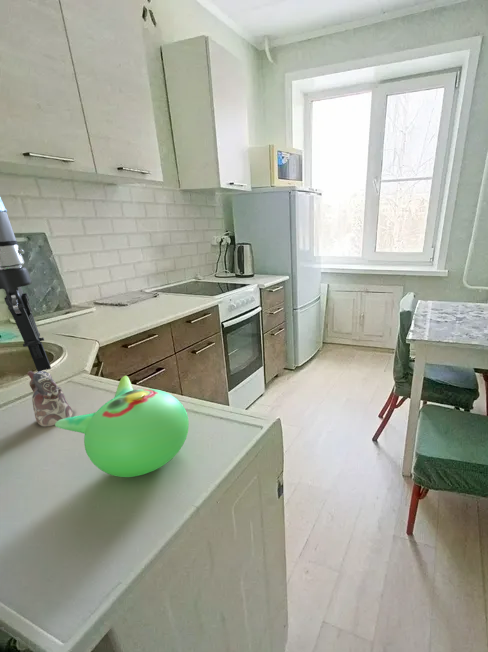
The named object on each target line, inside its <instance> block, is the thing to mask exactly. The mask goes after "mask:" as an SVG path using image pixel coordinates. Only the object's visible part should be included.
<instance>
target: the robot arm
mask: <svg viewBox="0 0 488 652" xmlns="http://www.w3.org/2000/svg"><path fill="white" fill-rule="evenodd" d="M24 254H25V250H24V249H22V248H20V246H19V243H18V240H17V238H16V235H15V233H14V230H13V227H12V223H11V221H10V217H9V215H8V209H7V208H6V207H5V204H4V202H3V200H2V197H1V196H0V290H4V291H5V297H3V299H4V302H5V304H6V305H7V310H9V312H10V314H11V316H12V318H13V320H14V322H15V325H16V327H17V329H18V332H19V333H20V336H21V338H22V340H23V343H22V346H23V348H26V347H27V348H28V351H29V353H30V357H31V359H32V362H33V364H34V366H35V368H36V372H39V371H47V370H51V368H52V367H51V364H50V361H49V358H48V356H47V353H46V351H45V348H44V344H43V341H45V338H44V337H41V333H40V332H39V329H38V326H37V323H36V320H35V317H34V314H33V309H32V306H31V304H30V298H29V295H28V293H27V292H25V293H24V291H23V288H22V287H26V286H27V287H28V286H30V285H31V284H32V282H33V281H32V278H31V275H30V273H29V270H28V268H27V267H26V266H23V265H24V264H25V260H24V256H23V255H24Z"/></svg>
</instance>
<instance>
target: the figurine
mask: <svg viewBox="0 0 488 652" xmlns="http://www.w3.org/2000/svg"><path fill="white" fill-rule="evenodd" d="M26 374H27V376H28V377H29V378H30V381H29V387H30V389H31V390H32V392H33V394H32V398H31V403H32V408H33V414H34V417H35V420H36V422H37V424H38V425H39V426H41V427H51V426H55V423H56V422H57V421H59V420H61V419H65V418H69V417H73V414H74V411H73V408H72V407H71V405H70V404H69V402H68V401H67V399H66V397H65V394H64V391H63V390H62V387H60V386H58V385H57V383H56V381H55V380H54V379H53V377H52V374H51V373H50V372H47V371H46V370H43V371H36V372H35V373H34V371H32V370H29V371H28V372H27V373H26Z"/></svg>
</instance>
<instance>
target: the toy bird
mask: <svg viewBox="0 0 488 652" xmlns="http://www.w3.org/2000/svg"><path fill="white" fill-rule="evenodd" d="M133 387H134V386H133V385H132V382H131V380H130V378H129V376H127V375H124V376H122V377H121V378H120V380H119V383H118V385H117V388H116V390H115V391H116V392H115V394H114V397H113V398H111V399H109V400H108V401H107V402H105V403H104V404H103V405H102V406H100V407H99V408H98V409H97V410H96V411H95V412H91V413H87V414H86V413H85V414H80V415H75V416H71V417H69V418H65V419H61V420H59V421H57V422H56V423H55V425H54V426H55V427H56V428H58V429H62V430H65V431H69V432H70V431H71V432H76V433H81V434H84V438H83V443H84V444H83V445H84V450H85V453H86V455H87V457H88V459H89V460H90V461H91V463H92V464H93V465H94V466H95V467H96V468H98V469H99V470H101V471H102V472H104V473H106V474H107V475H111V476H115V477H118V478H119V477H120V478H131V477H132V478H133V477H139V476H143V475H146V474H150V473H152V472H154V471H156V470H158V469H160V468H162V467H163V466H165V465H166V464H167V463H169V462H170V461H171V460H173V458H174V457H175V456H176V455H178V453H179V452H180V450H181V449H182V448H183V445H184V444H185V441H186V439H187V437H188V433H189V427H190V425H189V424H190V423H189V416H188V412H187V410H186V408H185V406H184V405H183V403H182V402H181V401H180V400H179V399H178V398H177V397H175V396H174V395H172V394H171V393H170V392H166V391H164V390H161V389H156V388H155V389H154V388H141V389H140V388H139V389H134V388H133Z"/></svg>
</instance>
